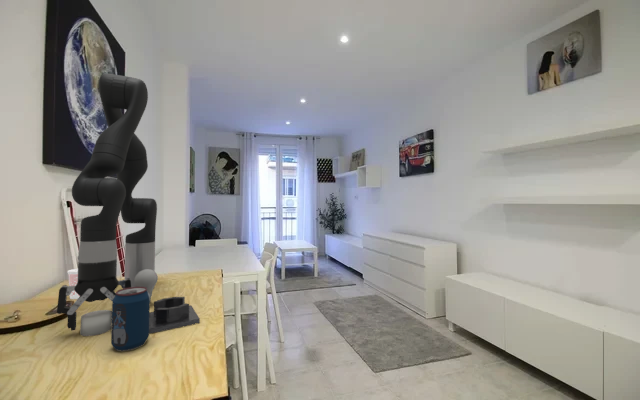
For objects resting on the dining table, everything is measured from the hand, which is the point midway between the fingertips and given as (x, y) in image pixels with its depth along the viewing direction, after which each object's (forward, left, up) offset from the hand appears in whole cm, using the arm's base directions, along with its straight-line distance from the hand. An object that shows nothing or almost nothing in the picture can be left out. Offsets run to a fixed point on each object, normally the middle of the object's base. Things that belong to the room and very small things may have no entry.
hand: (96, 325), depth 69 cm
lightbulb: (-14, +11, -2) cm, 18 cm away
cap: (0, 0, -1) cm, 1 cm away
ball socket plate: (+3, +16, -1) cm, 16 cm away
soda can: (+13, +7, -2) cm, 15 cm away
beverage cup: (-35, -7, -2) cm, 36 cm away
